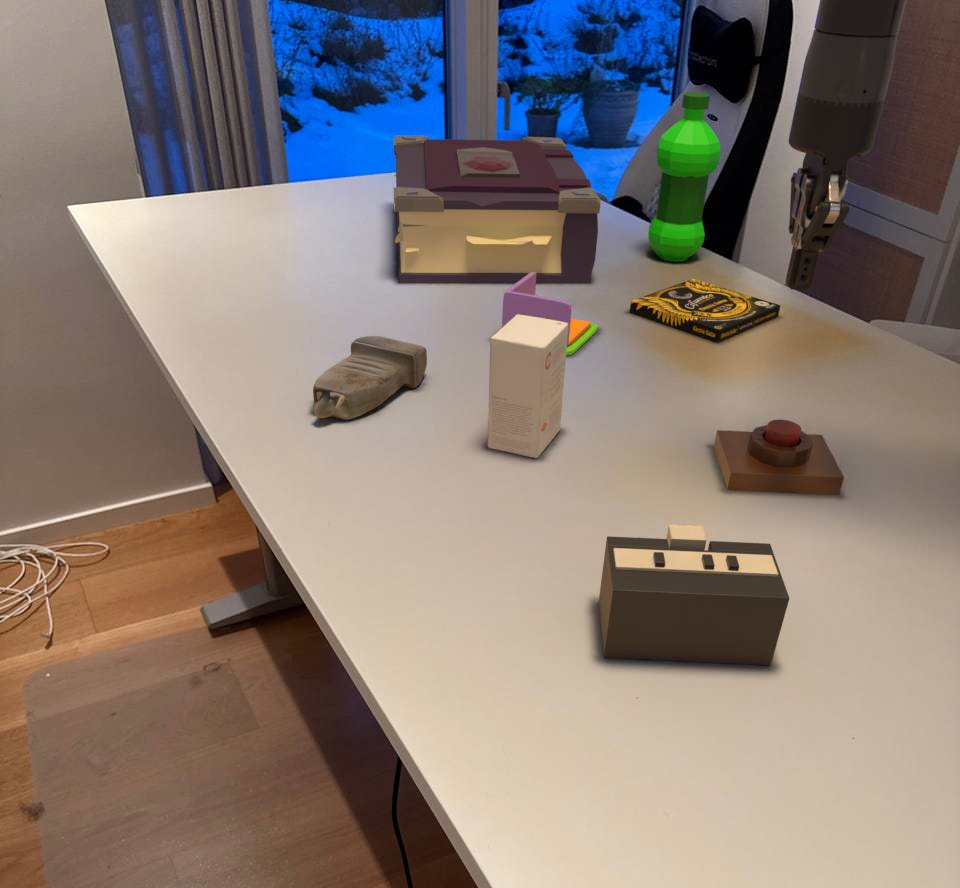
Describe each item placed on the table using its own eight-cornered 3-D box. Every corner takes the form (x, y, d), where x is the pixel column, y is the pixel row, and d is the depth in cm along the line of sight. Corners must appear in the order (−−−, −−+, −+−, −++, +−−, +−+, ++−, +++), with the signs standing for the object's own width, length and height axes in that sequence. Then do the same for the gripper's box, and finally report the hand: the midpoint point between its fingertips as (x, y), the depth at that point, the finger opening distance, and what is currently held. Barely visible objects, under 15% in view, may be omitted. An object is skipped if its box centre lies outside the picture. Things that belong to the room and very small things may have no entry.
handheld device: (284, 418, 114) (280, 381, 111) (372, 361, 128) (370, 327, 125) (353, 436, 111) (350, 398, 108) (435, 375, 125) (435, 341, 122)
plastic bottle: (644, 264, 164) (666, 98, 148) (643, 246, 172) (663, 87, 156) (703, 268, 163) (731, 102, 147) (699, 249, 171) (725, 90, 155)
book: (562, 209, 189) (568, 130, 181) (602, 285, 154) (611, 192, 146) (394, 208, 187) (392, 128, 178) (395, 285, 152) (393, 190, 143)
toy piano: (753, 608, 86) (772, 535, 81) (770, 665, 80) (792, 590, 75) (598, 601, 86) (607, 528, 82) (603, 657, 80) (614, 582, 75)
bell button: (793, 434, 106) (797, 420, 105) (801, 449, 103) (804, 434, 102) (761, 433, 106) (764, 418, 105) (767, 448, 103) (771, 433, 102)
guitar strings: (719, 330, 135) (630, 300, 144) (717, 342, 136) (629, 312, 145) (780, 305, 144) (693, 278, 153) (777, 316, 145) (691, 289, 154)
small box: (511, 420, 115) (516, 312, 107) (561, 430, 113) (570, 321, 105) (485, 448, 109) (488, 336, 101) (537, 460, 107) (545, 347, 99)
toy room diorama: (491, 341, 135) (492, 292, 130) (524, 314, 143) (527, 267, 139) (570, 357, 131) (574, 307, 126) (600, 329, 139) (605, 281, 135)
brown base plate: (817, 452, 110) (826, 420, 108) (838, 495, 103) (848, 462, 100) (713, 447, 111) (719, 415, 108) (727, 490, 103) (734, 457, 100)
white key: (698, 548, 85) (703, 525, 83) (702, 563, 83) (706, 539, 82) (664, 547, 85) (668, 524, 83) (667, 561, 83) (671, 538, 82)
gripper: (907, 106, 80) (851, 311, 91) (863, 80, 91) (818, 267, 101) (817, 103, 80) (773, 308, 91) (784, 78, 91) (748, 265, 102)
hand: (797, 286), depth 96 cm, fingers closed
